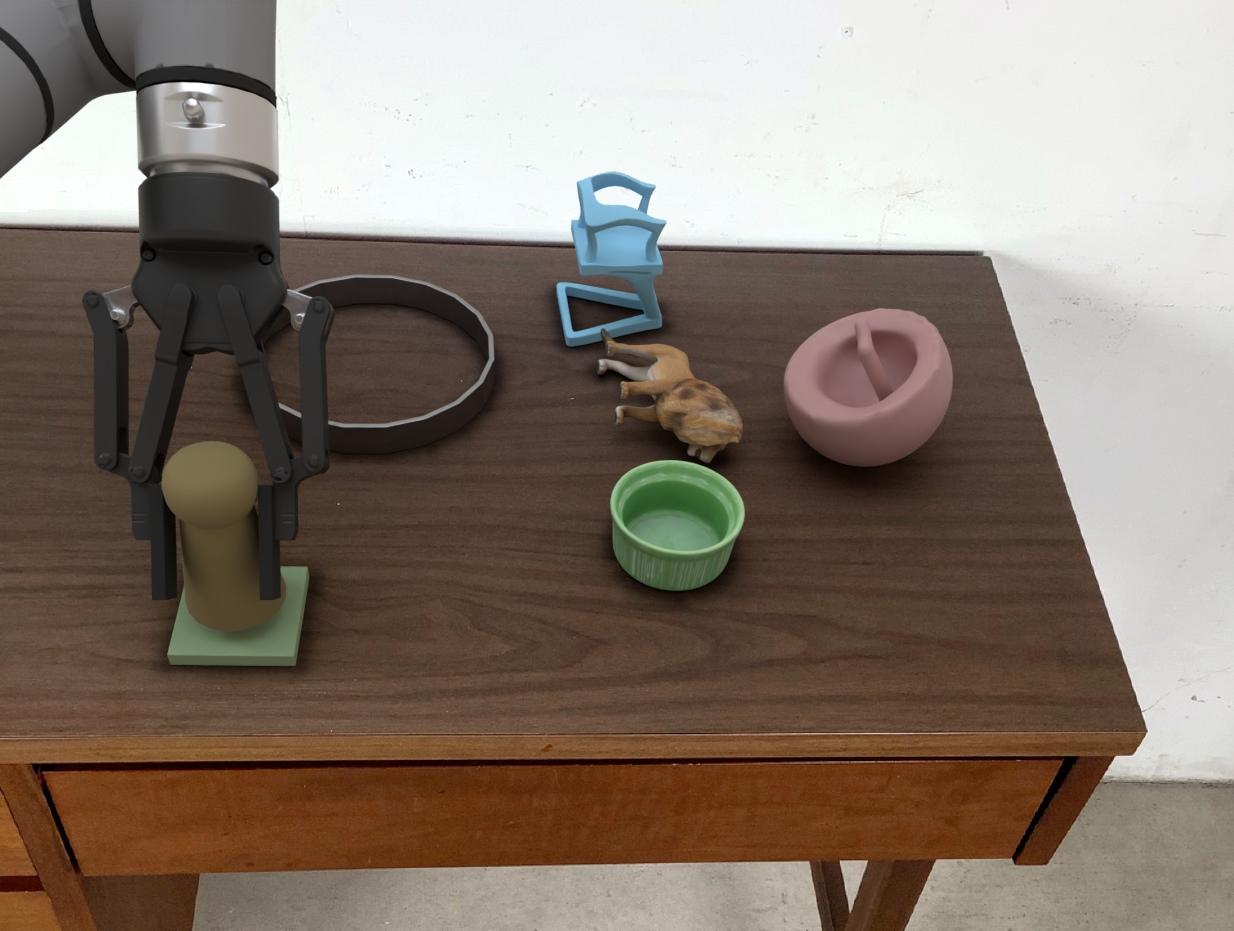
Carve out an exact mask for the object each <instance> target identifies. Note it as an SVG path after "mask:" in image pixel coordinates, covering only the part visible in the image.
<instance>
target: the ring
mask: <svg viewBox="0 0 1234 931" xmlns="http://www.w3.org/2000/svg"><path fill="white" fill-rule="evenodd" d="M291 290H292V291H295V292H298V293H301V294H304V295H306V296H309V297H312V298H313V297H316V296H322V297H324V298H326V299H327V301H328V302H329V303H330V305H331V306H332V308H333V309H334V308H337V307H344V306H350V305H356V304H385V305H387V304H390V305H398V306H403V307H408V308H413V309H417V310H423V311H427V312H429V313H432V314H434V315H436V316H438V317H441V318H442V319H445V320H447V321H449V322H452V323H454V324H456V325H457V326H458V327H459V328H460V329H462V330H463V331H464V332H465V333H467V334H468V335H469V336H470V337H472V338H473V340H475V341H476V343H477V344H478V346H479V347H480V349H481V351H482V353H483V355H484V356H485V359H486V360H487V362H486V364H485V366H484V368H483V370H482V373H481V374H480V377H479V378H478V380H477V381H476V383H474V384H473V385H472V386H471V387H470V388H468V390H466V391H465V392H464V393H463V394H462V395H461V396H459V397H458V398H457V399H456V400H454V401H453V402H450V403H448V404H446V405H444V406H441V407H438V408H437V409H435V410H433V411H431V412H428V413H427V414H424V415H419V416H415V417H411V418H406V419H401V420H396V421H391V422H386V423H342V422H338V421H333V420H329V419H328V425H329V451H332V452H337V453H342V454H346V455H347V454H348V455H349V454H392V453H396V452H401V451H406V450H411V449H415V448H420V447H425V446H428V445H430V444H432V443H434V442H436V441H439V440H441V439H443V438H445V437H447V436H450V435H452V434H453V433H455V432H457V431H460V430H461V429H463V428H464V427H465V426H466V425H467V424H468V423H469V422H470V421H471V420H473V418H474V417H475V416H477V415H478V414H479V413H480V412H481V411H482V410H483V409H484V407H485V405H486V403H487V402H488V399H489V396H490V394H492V390H493V389H494V387H495V344H494V343H495V341H494V334H493V333H492V331H491V329H490V327H489V326H488V324H487V322H486V320H485V319H484V316H483V315H482V313H480V311H478V310H477V309H476V308H474V306H472V305H470V303H469V302H467V301H466V300H465V299H463V298H462V297H461V296H459V295H458V294H456V293H454V292H453V291H450V290H447V289H445V288H442V287H440V286H438V285H435V284H433V283H431V282H429V281H424V280H419V279H413V278H411V277H410V278H409V277H404V276H400V275H394V274H355V273H354V274H349V275H342V276H338V277H331V278H330V277H329V278H324V279H318V280H316V281H312V282H310V283H308V284H306V285H303V286H300V287H297V288H294V289H291ZM290 324H291V314H290V311H289V310H288V309H286V308H285V309H284V310H283V311H282V313H281V314H280V315H279V317H278V318H277V320H276V321H275V322H274V324H273V325H272V326H271V328H270V329H269V331H268V332H267V333H266V335H265V336H264V337H263V339H262V344H263V346H265V344H266V342H267V341H268V340H269V338H271V337H272V336H274V335H275V334H277V333H278V332H280V331H281V330H283V329H284V328H285V327H287V326H288V325H290ZM278 403H279V407H280V410H281V414H282V417H283V421H284V424H285V428H286V431H287V435H288V438H291V439H294V440H295V441H297V442H299V443H301V444H302V421H301V412H299V411H297V410H295V409H293V408H291V407H289V406H287V405H285V404H283V403H280V402H279V401H278Z"/></svg>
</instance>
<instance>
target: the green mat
mask: <svg viewBox="0 0 1234 931" xmlns="http://www.w3.org/2000/svg"><path fill="white" fill-rule="evenodd" d="M280 566H281V565H280ZM281 574H282V577H283V579H284V582H285V584H286V598H285V600H284V602H283V604H282V606H281V608H280V610H278V611H277V612H276V613H275V614H274V615H273V616H272V617H271V618H270V619H269V620H267V621H265V622H263V623H262V624H260V625H258V626H256V627H252V628H249V629H245V630H241V631H220V630H215V629H210V628H208V627H206V626H204V625H202V624H200V623H198V622H197V621H196V620H195V619H194V618H193V617H192V616H191V614H190V613H189V611H188V608H187V605H186V602H185V590H184V587H183V589H182V592H181V596H180V601H179V604H178V610H177V614H176V618H175V622H174V624H173V630H172V634H171V637H170V641H169V646H168V650H167V654H166V656H167V658H168V661H169V665H171V666H241V667H242V666H244V667H245V666H246V667H247V666H248V667H249V666H251V667H253V666H255V667H256V666H257V667H296V666H297V659H298V653H299V647H300V640H301V633H302V626H303V621H304V620H303V619H304V615H305V609H306V608H305V607H306V602H307V601H306V600H307V594H308V589H309V582H310V572H309V567H308V566H285V565H282V566H281Z"/></svg>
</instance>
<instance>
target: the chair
mask: <svg viewBox="0 0 1234 931" xmlns="http://www.w3.org/2000/svg"><path fill="white" fill-rule="evenodd" d="M612 187H619V188H624V189H627V190H630V191H632V192H634V193H635V194H638V195H639V196H641V199H640V202H639V204H638V208H634V207H632V206H629V205H625V204H624V205H623V204H603V203H602V202H601V203H600V202H599V201H598V200H597V198H596V195H595V193H597V192H598V191H601V190H603V189H606V188H612ZM656 187H657V185H656V184H653V183H649V182H645V181H641V180H639V179H637V178H635V177H633V176H632V175H629V174H626V173H624V172H620V171H615V170H614V171H605V172H601V173H599V174H595V175H592V176H588V177H585V178H583V179H581V180H578V181H576V189H577V196H578V202H579V211H580V212H579V217H578V219H571V221H570V222H571V223H570V232H571V236H572V241H573V244H574V250H575V254H576V259H577V260H576V261H577V266H578V270H579V276H600V275H603V276H607V277H612V278H613V277H614V278H618V279H621V280H623V281H626V282H627V283H629V284H630V286H631V287H632V288H633V290H634V291H635V293H632V292H631V293H630V292H626V291H620V290H614V289H609V288H605V287H604V288H603V287H597V286H592V285H586V284H581V283H574V282H565V281H563V282H558V283H557V284H556V298H557V303H558V307H559V308H558V309H559V314H560V319H561V325H562V329H563V334H564V341H565V345H566V346H568V347H579V346H584V345H588V344H593V343H597V342H602V341H603V340H602V336H601V329H602V328H604V329H606V331H607V332H608V333H609V334H610V336H611V337H612V339H613V338H617V337H622V336H626V335H630V334H635V333H640V332H644V331H649V330H651V331H652V330H657V329H661V328H662V326H663V316H662V312H661V309H660V306H659V303H658V297H657V294H656V291H655V286H654V280H655V277H657V275H663V269H664V263H663V259H662V256H661V253H660V249H659V246H658V244H657V243H658V240H659V238H660V236H661V234H662V232H663V231H664V229H665V227H666V225H667V223H668V221H667V220H665V219H660V218H657V217H654V216H651V215H649V214H648V209H649V205H650V200H651V198H652V195H653V194H654V192H655V190H656ZM567 296H568V297H573V298H578V299H584V300H589V301H593V302H599V303H602V304H603V303H604V304H607V305H612V306H617V307H623V308H629V309H635V310H641V311H643V313H644V314H639V315H635V316H632V317H631V316H630V317H627V318H624V319H619V320H616V321H611V322H609V323H605V324H601V325H597V326H593V327H590V328H585V329H583V330H578V331H574V330H573V326H572V320H571V314H570V309H569V304H568V297H567Z"/></svg>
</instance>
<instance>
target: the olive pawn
mask: <svg viewBox="0 0 1234 931" xmlns="http://www.w3.org/2000/svg"><path fill="white" fill-rule="evenodd" d="M161 476H162V482H161V484H162V485H161V488H162V491H163V494H164V497H165V500H166V503H167V505H168V507H169V508H170V510H171V511H172V512H173V513H174V514H175V515H176V518H178V521H179V524H178V525H179V534H180V535H179V536H180V548H181V563H182V575H183V588H184V590H185V602H186V605H187V608H188V611H189V613H190V614H191V616H192V617H193V618H194V619H195V620H196V621H197V622H198V623H200V624H202V625H204V626H206V627H208V628H210V629H215V630H220V631H241V630H245V629H249V628H252V627H256V626H258V625H260V624H262V623H263V622H265V621H267V620H269V619H270V618H271V617H272V616H273V615H274V614H275V613H276V612H277V611H278V610H280V608H281V606H282V604H283V602H284V600H285V598H286V584H285V582H284V579H283V577H282V574H281V598H278V599H275V600H260V589H259V534H258V509H257V508H256V503H257V502H258V485H260V478H259V473H258V471H257V468H256V466H255V464H254V462H253V461H252V458H250V457H249V455H247V453H245V452H244V451H243V450H242V449H240V448H239V447H237V446H235V445H233V444H231V443H229V442H223V441H219V440H206V441H205V440H204V441H200V442H194V443H191V444H189V445H187V446H184V447H182V448H180V449H179V450H177V451H176V452H175V453H174V454H172V455H171V457H170V458H169V460H168V461H167V463H166V465H164V467H163V471H162V475H161Z"/></svg>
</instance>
